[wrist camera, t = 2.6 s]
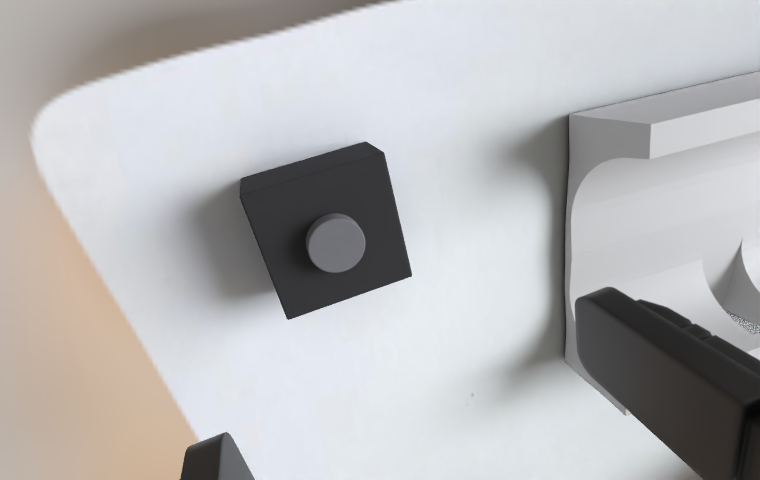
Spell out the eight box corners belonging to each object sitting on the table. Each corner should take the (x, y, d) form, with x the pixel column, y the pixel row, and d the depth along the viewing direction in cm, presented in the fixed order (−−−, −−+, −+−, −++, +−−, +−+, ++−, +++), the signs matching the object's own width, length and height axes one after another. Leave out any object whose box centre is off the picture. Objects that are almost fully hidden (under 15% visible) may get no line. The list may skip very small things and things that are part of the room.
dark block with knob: (282, 290, 22) (289, 330, 18) (240, 178, 19) (238, 201, 16) (393, 252, 23) (418, 284, 19) (366, 140, 20) (389, 155, 17)
